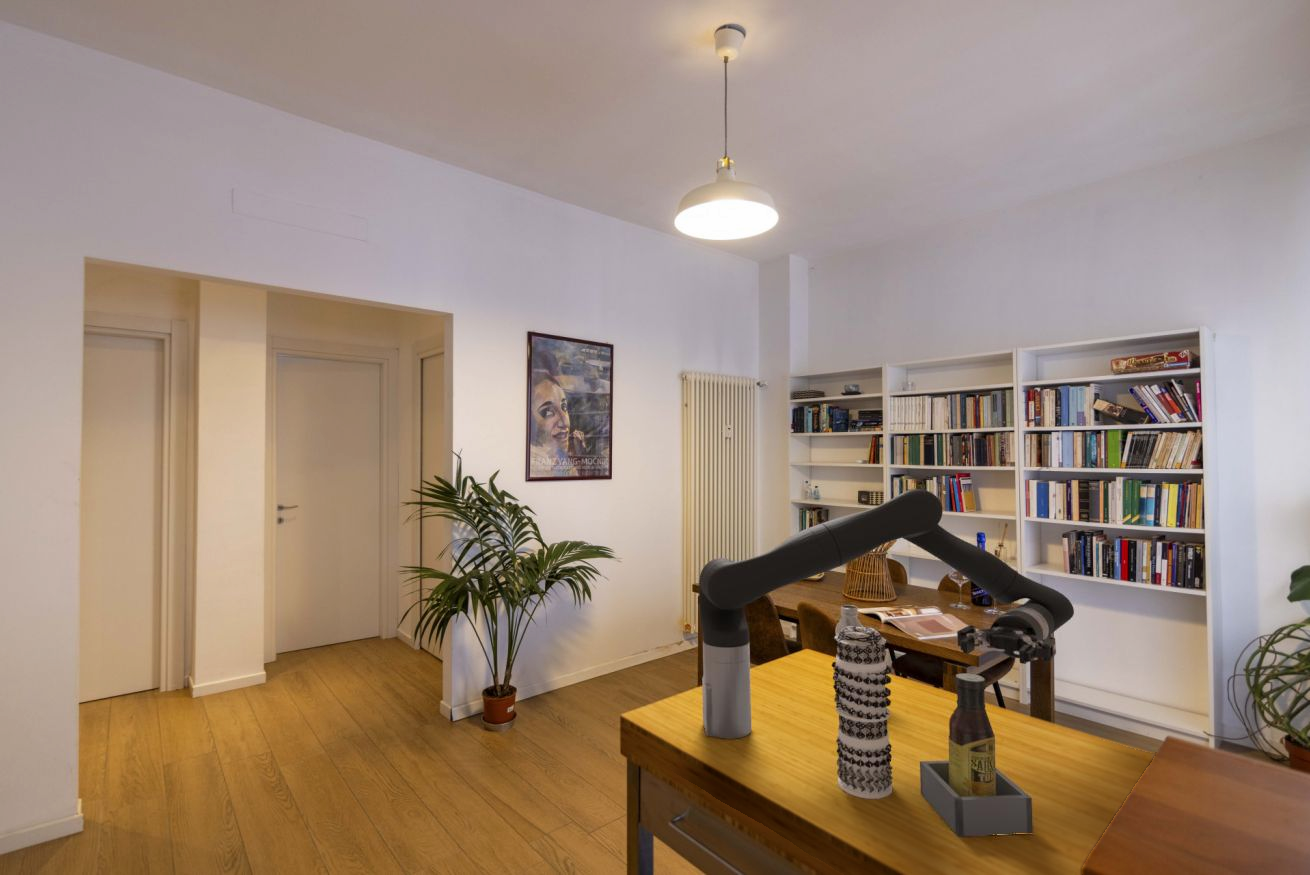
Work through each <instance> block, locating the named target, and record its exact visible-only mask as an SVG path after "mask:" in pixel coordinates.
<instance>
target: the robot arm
mask: <svg viewBox="0 0 1310 875" xmlns="http://www.w3.org/2000/svg"><path fill="white" fill-rule="evenodd" d="M943 512H944V510H943V503H942V502H941V500H940V499H939V498H938V497H937V496H936V494H934V493H933V492H931V491H928V490H925V489H920V488H919V489H918V488H913V489H908V490H905V491H904V492H902V493H900V494H898V495H896V496H895V497H893V498H892V499H888V501H886V502H883V503H881V504H879V505H878V506H877V505H876V506H874V507H872V508H869V509H867V510H863V511H859V512H855V513H852V514H848V515H843V516H841V517H836V518H834V519H830V520H828V521H824V522H822V523H818V524H816V525H813V526H811V527H808V528H805V529H803V530H801V531H798V532H797V533H794V534H793V535H791V536H790V537H789V538H786V539H785V540H784V541H783V542H781V543H780V544H779V545H777V546H775V547H774V548H772V549H771V550H769V551H767V552H765V553H762V554H760V555H755V556H753V557H750V558H747V559H743V560H738V561H733V560H732V559H729V558H725V557H724V558H723V557H718V558H713V559H712V560H710V561H708V562H707V563H706V564H705V565H704V566H703V567H702V569H701V572H700V574H699V580H698V592H699V593H698V594H699V595H698V596H699V599H698V600H699V618H700V626H701V627H700V628H701V631H702V651H703V652H702V661H703V666H702V668H703V676H702V678H701V679H702V681H701V682H702V687H701V688H702V724H703V727H704V728H705V729H704V732H705V736H707V737H715V738H720V739H730V740H731V739H739V738H743V737H746V736H748V735H749V734H750V733H751V732H752V702H751V692H752V691H751V657H750V656H751V654H750V653H751V651H750V647H751V646H750V629H749V624H748V623H747V619H746V613H745V606H746V605H748V604H751V603H752V602H754V601H755V600H757V599H760V598H762V597H764V596H765V595H767V594H769V593H771V592H773V591H775V590H777V589H780V588H782V587H785V586H788V585H792V584H795V583H798V582H801V581H803V580H807V579H809V578H811V577H814V576H819V575H820V574H824V573H826V572H828V571H831V570H833V569H837V568H839V567H842V566H844V565H846V564H848V563H850V562H852V561H854V560H856V559H858V558H860V557H863V556H865V555H866V554H869V553H870V552H871V551H873V550H875V549H877V548H878V547H881V546H883V545H884V544H888V543H890V542H893V541H895V540H900V539H903V540H906V541H907V542H910V543H911V544H912V545H915V546H916V547H918V548H920V549H922V550H923V551H925V552H927V553H928V554H931V555H932V556H934V557H935V558H937V559H939V560H940V561H941V562H944V564H946V565H948V566H949V567H951V568H952V569H954V570H955V571H956V572H958V573H959V574H961V575H962V576H964V577H965V578H966V579H967V580H969V581H971V582H972V583H973V584H975V585H976V586H977V587H978V588H979V589H981V590H983V592H985V593H987V594H988V595H989V596H990V597H992V598H993V599H995V600H996V601H997V602H999V603H1000V604H1003V605H1011V604H1012V603H1015V602H1017V601H1019V600H1022V599H1023V600H1024V599H1026V600H1027V599H1028V600H1027V601H1025V602H1024V603H1023V604H1020V605H1018V606H1017V607H1015V608H1012V609H1010V610H1008V611H1007V612H1006V611H1005V613H1003V614H1002V615H1000V616H998V617H997V618H995V620H994V621H993V622H992V624H991V626H990V628H986V629H985V628H984V629H976V626H975V625H967V626H965V627H963V628H962V629H959V630H957V631H956V638H957V639H956V640H957V646H958V647H960V650H961V651H962V653H963V654H965V655H969V654H970V653H972V652H973V651H975V650H981V651H982V652H992V651H994V652H995V651H996V652H999V653H1002V654H1004V655H1006V656H1008V657H1011V658H1014V659H1019V663H1020V664H1021V665H1022V664H1023V665H1026V664H1028V663H1030V662H1033V661H1037V660H1038V658H1042V661H1044V662H1051V661H1052V660H1053V659H1054V658H1055V656H1056V655H1057V645H1056V637H1053V636H1051V635H1052V634H1053V633H1054V632H1056V631H1057V630H1059V629H1060V628H1061V627H1062V626H1064V624H1066V623H1068V622H1069V621H1070V620H1071V619H1073V616H1074V614H1075V609H1074V605H1073V604H1072V602H1071V600H1069V598H1067V597H1066V596H1065V595H1064V594H1063V593H1061V592H1060V591H1058V590H1056V589H1055V588H1052V587H1049V586H1047V585H1045V584H1042V583H1040V582H1037V581H1035V580H1032V579H1030V578H1028V577H1027V576H1024V575H1023V574H1020V573H1019V572H1018V571H1016V570H1015V569H1014V568H1012V567H1011V566H1010V565H1008V564H1007V563H1006V562H1004V561H1003V560H1002V559H1000V558H999V557H998V556H996V555H994V554H993V553H992V552H989V551H988V550H986V549H984V548H981V547H979V546H977V545H975V544H973V543H970V542H968V541H966V540H964V539H961V538H959V537H958V536H956V535H954V534H953V533H951V532H949V531H948V530H946V529H945V528H943V527H942V526H941V525H939V523H940V522H941V520H942V516H943Z"/></svg>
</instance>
